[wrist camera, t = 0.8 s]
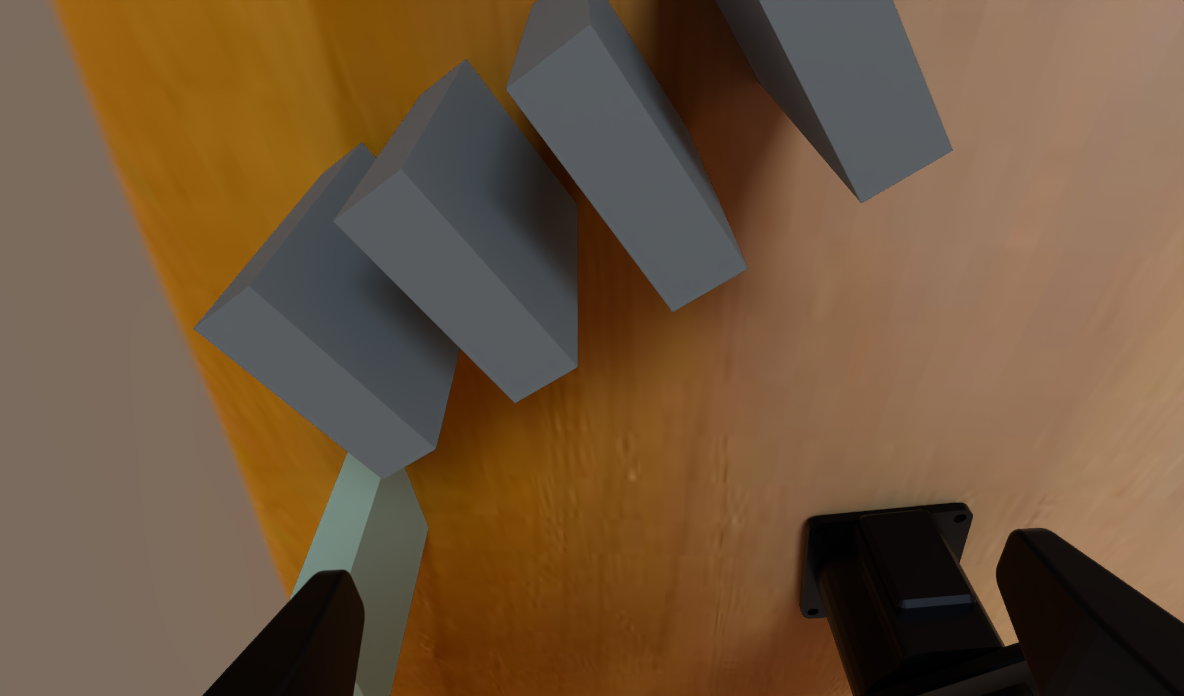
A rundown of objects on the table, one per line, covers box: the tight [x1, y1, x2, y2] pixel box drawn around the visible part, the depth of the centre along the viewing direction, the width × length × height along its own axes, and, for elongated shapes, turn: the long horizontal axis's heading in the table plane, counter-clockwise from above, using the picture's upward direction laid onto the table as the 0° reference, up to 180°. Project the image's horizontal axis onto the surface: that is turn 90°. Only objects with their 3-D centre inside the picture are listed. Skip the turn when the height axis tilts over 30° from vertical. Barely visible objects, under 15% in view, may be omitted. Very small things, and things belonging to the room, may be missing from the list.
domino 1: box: [194, 142, 460, 480], centre depth 17 cm, size 2×5×8 cm, turn 35°
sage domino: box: [290, 452, 428, 696], centre depth 24 cm, size 2×5×8 cm, turn 7°
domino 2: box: [334, 59, 578, 403], centre depth 16 cm, size 2×5×8 cm, turn 35°
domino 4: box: [715, 0, 953, 203], centre depth 14 cm, size 2×5×8 cm, turn 35°
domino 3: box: [506, 0, 748, 312], centre depth 15 cm, size 2×5×8 cm, turn 35°
